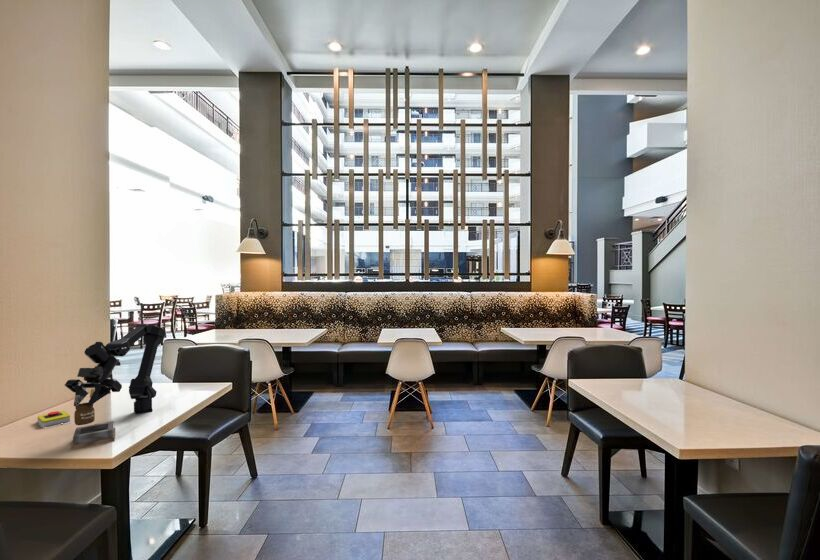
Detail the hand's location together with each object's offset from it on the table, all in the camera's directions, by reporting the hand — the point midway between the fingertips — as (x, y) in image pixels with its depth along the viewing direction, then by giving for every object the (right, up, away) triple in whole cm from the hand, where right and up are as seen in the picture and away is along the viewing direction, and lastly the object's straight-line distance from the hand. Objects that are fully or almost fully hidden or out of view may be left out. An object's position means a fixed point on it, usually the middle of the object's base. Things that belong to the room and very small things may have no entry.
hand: (81, 406), depth 149 cm
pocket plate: (+4, -13, +1) cm, 14 cm away
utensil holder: (0, -7, +1) cm, 7 cm away
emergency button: (-30, -14, +21) cm, 39 cm away
